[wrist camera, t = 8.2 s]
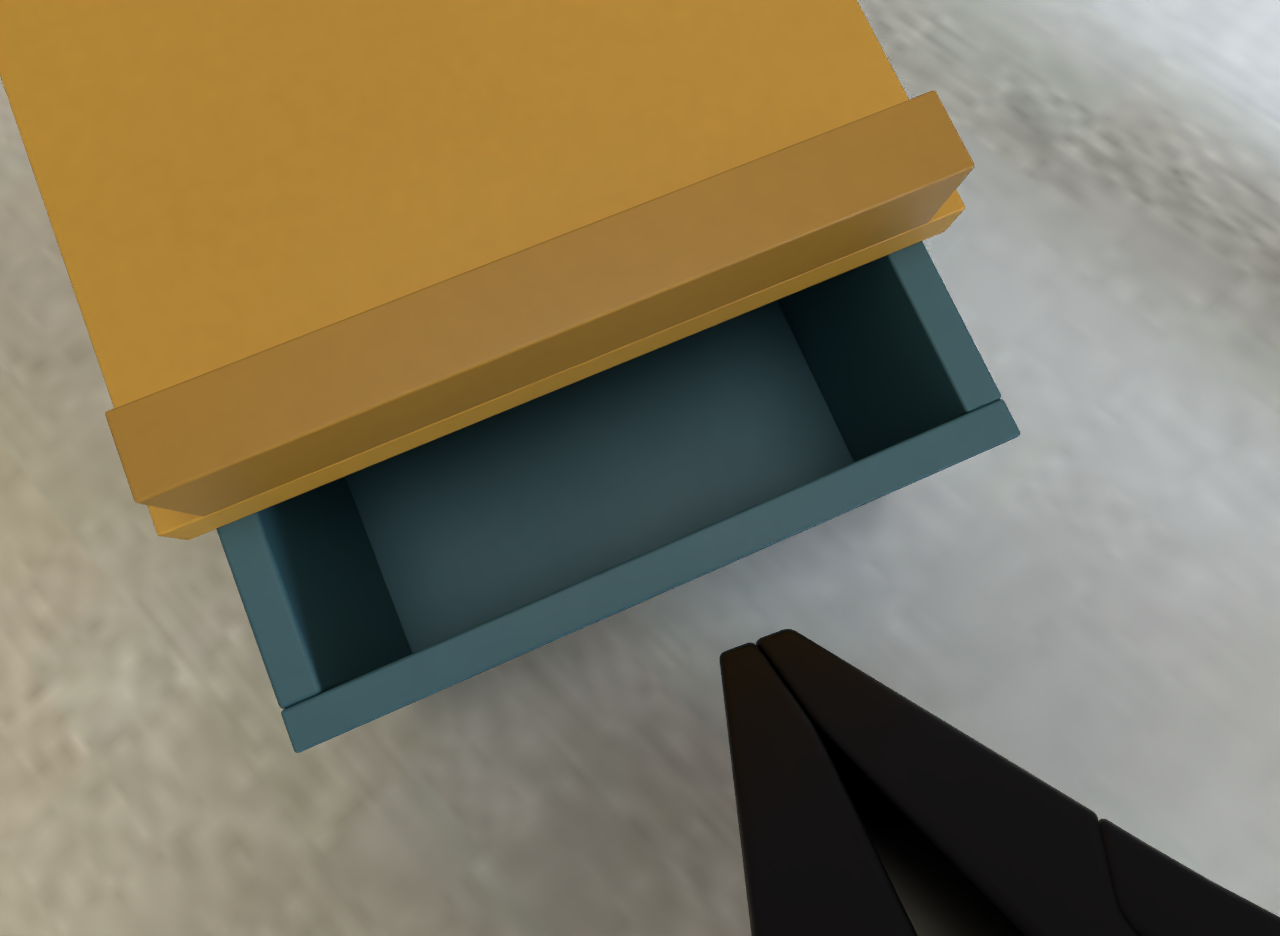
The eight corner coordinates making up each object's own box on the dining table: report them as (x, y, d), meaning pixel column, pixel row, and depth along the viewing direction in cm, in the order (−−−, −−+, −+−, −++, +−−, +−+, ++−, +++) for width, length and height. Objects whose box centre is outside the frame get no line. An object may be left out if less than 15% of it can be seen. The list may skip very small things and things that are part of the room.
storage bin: (889, 489, 23) (1023, 434, 15) (404, 701, 22) (294, 754, 14) (708, 114, 25) (749, -98, 17) (249, 289, 23) (76, 140, 16)
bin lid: (945, 232, 16) (1019, 148, 13) (187, 541, 15) (79, 526, 12) (671, -297, 18) (682, -475, 15) (-26, -70, 17) (-164, -217, 14)
